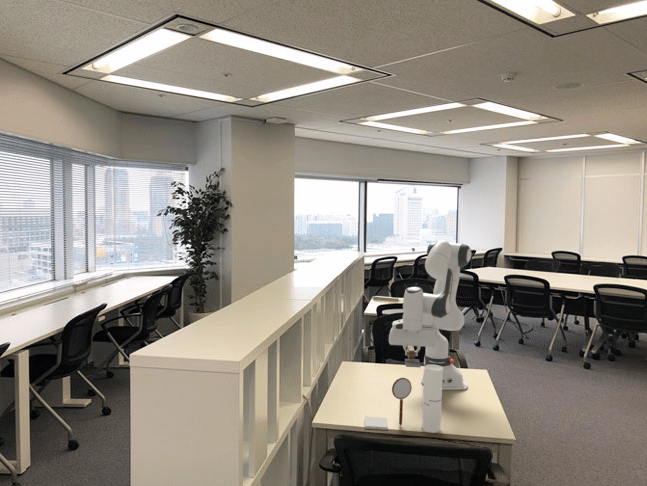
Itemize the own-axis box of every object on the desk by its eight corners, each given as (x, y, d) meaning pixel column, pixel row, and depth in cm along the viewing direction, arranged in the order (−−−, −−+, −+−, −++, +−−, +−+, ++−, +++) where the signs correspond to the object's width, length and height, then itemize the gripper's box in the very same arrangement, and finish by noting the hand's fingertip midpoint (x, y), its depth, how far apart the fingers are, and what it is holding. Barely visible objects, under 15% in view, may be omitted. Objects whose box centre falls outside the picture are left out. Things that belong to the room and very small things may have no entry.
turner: (402, 351, 231) (403, 343, 230) (416, 352, 230) (416, 343, 230) (406, 366, 209) (406, 357, 209) (420, 367, 208) (420, 358, 208)
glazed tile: (386, 417, 206) (387, 427, 197) (386, 421, 206) (387, 431, 197) (365, 416, 207) (364, 425, 198) (364, 420, 207) (364, 429, 198)
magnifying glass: (391, 428, 198) (393, 379, 197) (389, 426, 200) (391, 378, 198) (411, 425, 201) (412, 377, 200) (408, 424, 203) (410, 376, 201)
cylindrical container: (439, 433, 195) (441, 371, 193) (420, 430, 197) (423, 368, 195) (441, 426, 201) (444, 365, 200) (423, 423, 204) (426, 363, 202)
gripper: (435, 323, 221) (434, 354, 222) (389, 321, 223) (388, 352, 224) (437, 327, 215) (436, 358, 216) (389, 325, 217) (388, 356, 218)
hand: (411, 355), depth 220 cm, fingers closed on turner, 2 cm apart
